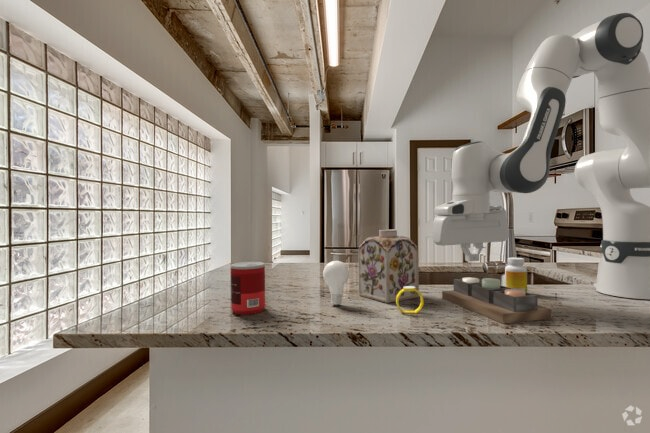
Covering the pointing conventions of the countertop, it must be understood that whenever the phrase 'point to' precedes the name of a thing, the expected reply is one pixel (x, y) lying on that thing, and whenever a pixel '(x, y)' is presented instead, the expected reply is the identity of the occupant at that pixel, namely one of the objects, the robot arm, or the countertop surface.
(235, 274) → the canned food
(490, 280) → the sage button
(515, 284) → the supplement bottle
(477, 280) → the cream button
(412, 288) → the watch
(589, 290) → the countertop surface
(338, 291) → the lightbulb
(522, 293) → the terracotta button
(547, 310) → the button board
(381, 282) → the decorative jar
